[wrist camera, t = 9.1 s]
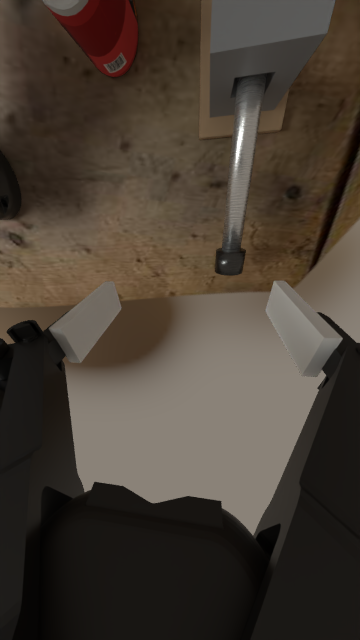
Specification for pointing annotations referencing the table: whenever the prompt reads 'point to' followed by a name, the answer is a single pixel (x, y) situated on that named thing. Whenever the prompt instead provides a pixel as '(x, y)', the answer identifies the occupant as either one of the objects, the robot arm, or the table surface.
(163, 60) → the table surface
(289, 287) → the robot arm
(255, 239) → the table surface
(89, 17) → the canned food
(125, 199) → the table surface
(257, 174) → the table surface
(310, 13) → the bearing frame
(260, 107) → the shaft
